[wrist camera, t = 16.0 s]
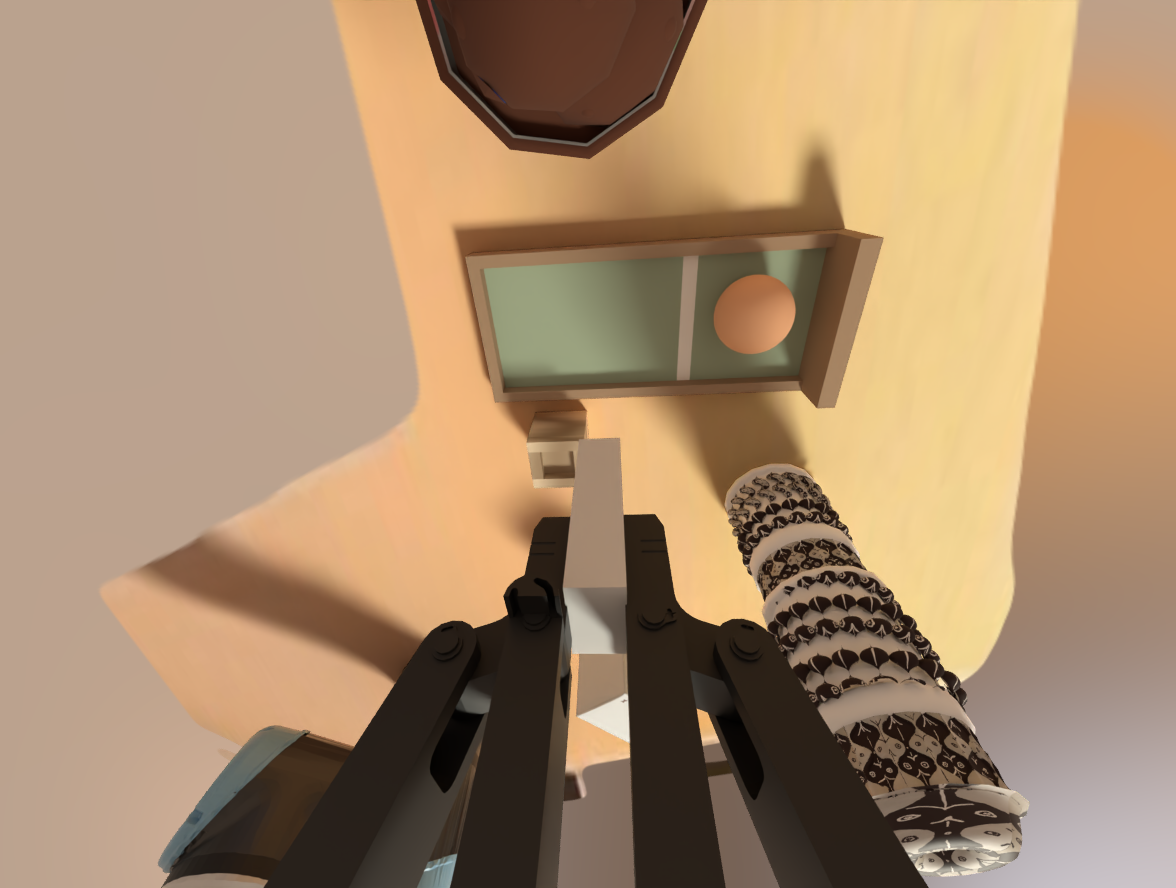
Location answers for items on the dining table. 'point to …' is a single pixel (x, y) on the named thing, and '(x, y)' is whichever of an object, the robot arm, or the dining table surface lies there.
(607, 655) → the small box
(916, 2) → the dining table surface
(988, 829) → the decorative candle
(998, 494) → the dining table surface
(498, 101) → the ice cream bowl
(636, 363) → the tray
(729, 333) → the ball
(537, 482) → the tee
